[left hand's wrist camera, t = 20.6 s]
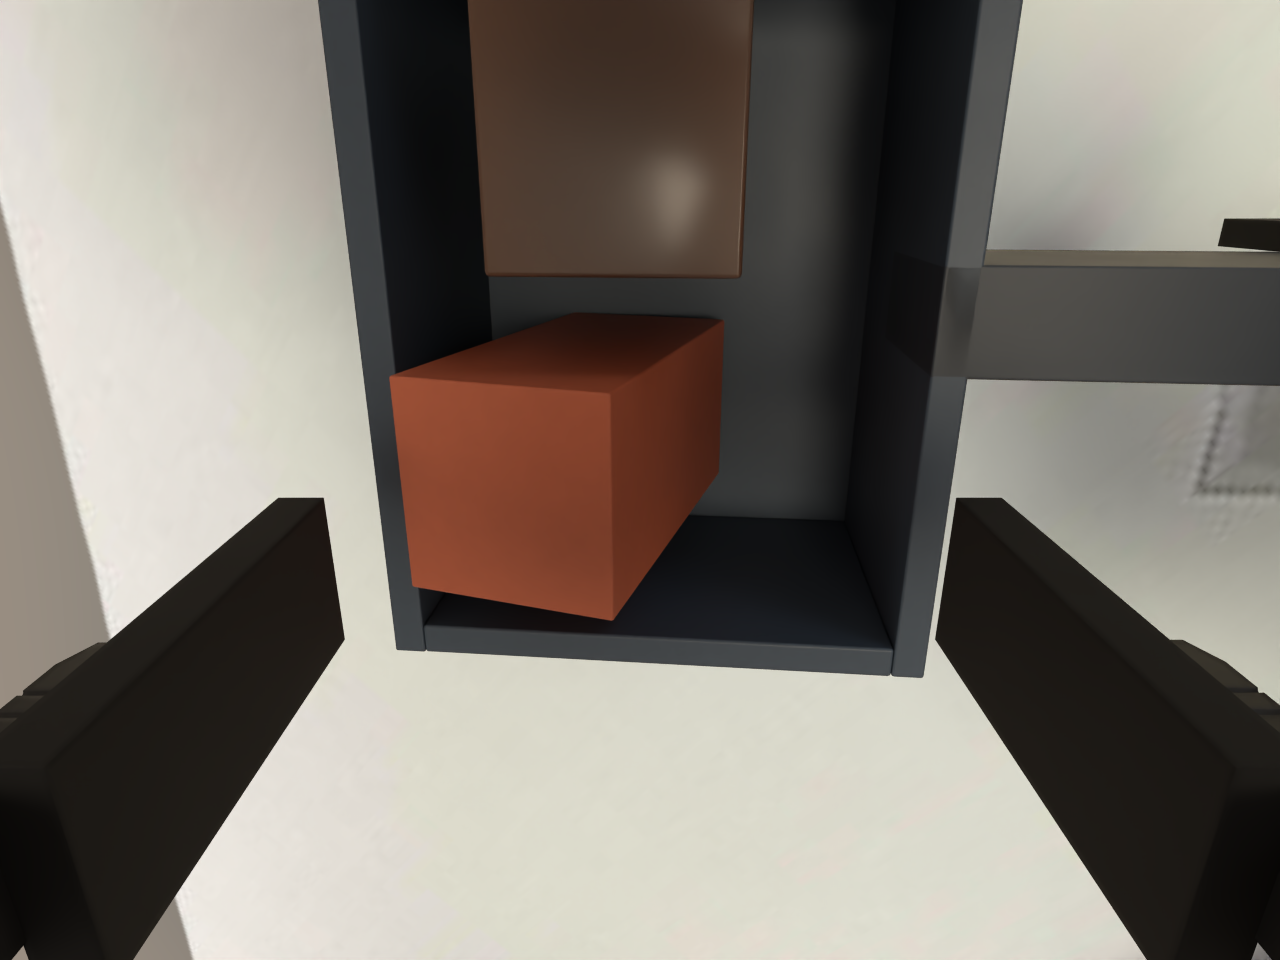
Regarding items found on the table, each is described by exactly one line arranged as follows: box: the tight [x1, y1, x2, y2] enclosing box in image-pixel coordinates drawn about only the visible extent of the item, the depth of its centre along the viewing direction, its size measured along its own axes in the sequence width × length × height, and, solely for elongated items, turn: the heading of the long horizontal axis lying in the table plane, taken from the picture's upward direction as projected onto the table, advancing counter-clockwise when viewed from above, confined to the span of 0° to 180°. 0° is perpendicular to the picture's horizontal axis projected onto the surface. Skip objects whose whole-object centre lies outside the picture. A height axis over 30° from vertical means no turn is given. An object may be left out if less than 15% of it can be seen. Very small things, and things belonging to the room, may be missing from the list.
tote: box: [318, 0, 1280, 678], centre depth 21 cm, size 27×18×9 cm, turn 90°
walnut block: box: [467, 0, 754, 279], centre depth 19 cm, size 5×5×10 cm
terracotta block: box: [389, 312, 724, 620], centre depth 21 cm, size 5×5×10 cm
